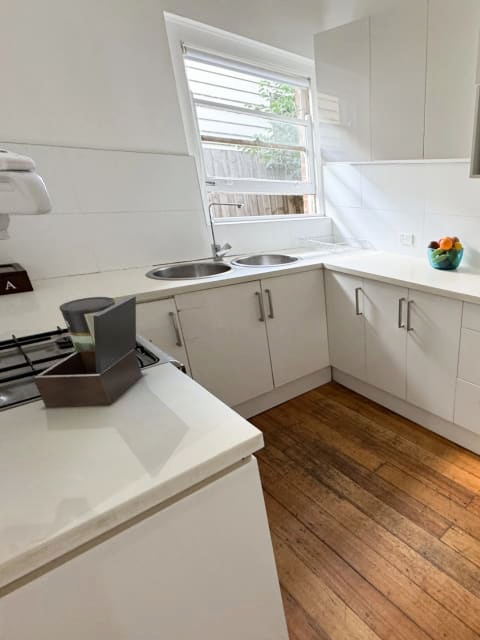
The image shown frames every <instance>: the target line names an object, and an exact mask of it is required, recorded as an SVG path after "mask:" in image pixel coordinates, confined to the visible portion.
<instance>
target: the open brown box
mask: <svg viewBox="0 0 480 640" xmlns="http://www.w3.org/2000/svg"><path fill="white" fill-rule="evenodd" d="M142 376H143V372H142V369H141V366H140V363H139V359H138V355H137V352H136V348H134V349H133V350H132V351H130V352H129V353H128V354H126V355H125V356H124V357H122V358H121V359H120V360H119V361H117V362H116V363H115V364H113V365H112V366H111V367H109V368H108V369H107V370H105V371H104V372H103V373H101V374H98V373H96V357H95V350H77V351H76V350H75V351H74V352H73V353H71V354H70V355H68V356H66V357H64V358H63V359H61V360H60V361H58V362H56V363H55V364H53V365H52V366H50V367H49V368H47V369H45V370H43V371H42V372H40V373H38V374H36V375H35V376H33V377H32V379H33V381H34V384H35V385H36V388H37V390H38V392H39V395H40V397H41V400H42V402H43V404H44V407H45V409H47V408H49V409H50V408H67V407H68V408H72V407H74V408H75V407H99V406H101V407H102V406H111V405H112V404H113V402H115V401H116V400H117V399H118V398H119V397H120V396H122V395H123V394H124V393H125V392H126V391H127V390H128V389H129V388H130V387H132V386H133V384H134V383H136V382H137V381H138V380H139V379H140V378H141V377H142Z"/></svg>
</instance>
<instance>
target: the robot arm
mask: <svg viewBox="0 0 480 640" xmlns="http://www.w3.org/2000/svg"><path fill="white" fill-rule="evenodd" d="M36 168H37V166H36V162H35V160H34V159H33V158H31V157H29V156H27V155H23V154H20V153H17V152H13V151H10V150H7V149H4V148H1V147H0V241H5V240H9V239H10V234H9V231H8V229H9V225H10V221H11V218H10V215H15V216H16V215H19V216H40V215H41V216H42V215H47V214H48V215H49V214H51V212H52V210H53V203H52V200H51V197H50V195H49V192H48V190H47V187H46V184H45V183H44V181H43V179H42V177H41V176H40V175H38V173H36V172H34V171H35V170H36Z"/></svg>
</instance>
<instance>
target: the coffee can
mask: <svg viewBox="0 0 480 640" xmlns="http://www.w3.org/2000/svg"><path fill="white" fill-rule="evenodd" d="M115 304H116V300H115V299H114V298H112V297H109V296H92V297H91V296H90V297H84V298H78V299H73V300H70V301H67V302H64V303H62V304H60V306H59V307H58V308H59V311H61V314H62V317H63V319H64V323H65V325H66V329H67V331H68V334H69V337H70V339H71V341H72V342H71V343H72V344H73V348H74V350H75V352H76V351H77V350H95V337H94V317H93V316H94V315H95V314H97V313H99V312H101V311H103V310H105V309H107V308H109V307H111V306H113V305H115Z"/></svg>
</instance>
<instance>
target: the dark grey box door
mask: <svg viewBox="0 0 480 640" xmlns="http://www.w3.org/2000/svg"><path fill="white" fill-rule="evenodd" d="M93 317H94V337H95V357H96V373H98V374H101V373H103V372H104V371H105V370H107V369H108V368H109V367H111V366H112V365H113V364H115V363H116V362H117V361H119V360H120V359H121V358H122V357H124V356H125V355H126V354H128V353H129V352H130V351H132V350H133V349H136V348H137V296H136V295H130V296H128V297H126V298H124V299H122V300H120V301H119V302H115V305H113V306H111V307H109V308H107V309H105V310H103V311H101V312H99V313H97V314H95V315H94V316H93Z"/></svg>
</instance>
